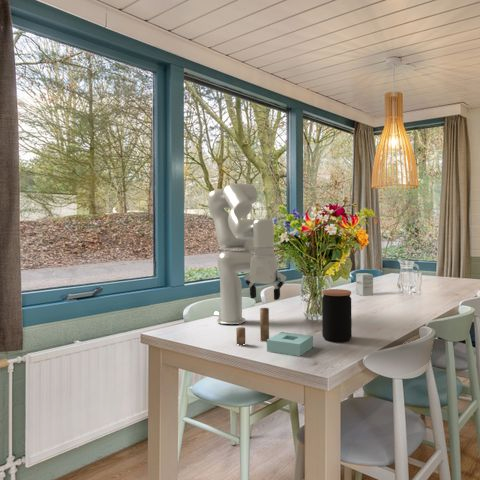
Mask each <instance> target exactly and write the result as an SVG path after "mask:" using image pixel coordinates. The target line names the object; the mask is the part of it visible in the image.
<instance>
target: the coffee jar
mask: <svg viewBox="0 0 480 480" xmlns="http://www.w3.org/2000/svg"><path fill="white" fill-rule="evenodd" d="M321 293H322V295H323V296H321V297H322V298H321V307H322V308H321V311H322V312H321V318H322V319H321V320H322V323H321V325H322V327H321V328H322V329H321V333H322V335H321V336H322V338H323V339H324V341H327V342H330V343H340V344H341V343H346V342H349V341H351V339H352V337H353V336H352V335H353V334H352V325H353V323H352V322H353V321H352V297H351V295H352V291H351V290H349V289H341V288H335V289H334V288H328V289H323V290H322V291H321Z"/></svg>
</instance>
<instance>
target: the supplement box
mask: <svg viewBox="0 0 480 480" xmlns="http://www.w3.org/2000/svg"><path fill="white" fill-rule="evenodd" d="M355 286H356V287H355V294H356V295H359V296H362V297H367V296H369V295H370V296H373V295H374V274H372V273H367V272H364V273H362V272H360V273H359V272H358V273H356V274H355Z"/></svg>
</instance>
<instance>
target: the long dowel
mask: <svg viewBox="0 0 480 480" xmlns="http://www.w3.org/2000/svg"><path fill="white" fill-rule="evenodd" d="M269 310H270V309H269V307H260V308H259V313H260V314H259V316H260V317H259V321H260V325H259V330H260V334H259V335H260V341H261V340H262V341H261V342H263V341H267V339H269V338H270V313H269V312H270V311H269Z"/></svg>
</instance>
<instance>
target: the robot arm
mask: <svg viewBox="0 0 480 480" xmlns="http://www.w3.org/2000/svg"><path fill="white" fill-rule="evenodd" d="M207 197H208V198H207V205H208V206H207V207H208V211H209V213H210V215H211V217H212V220H213V223H214V230H215V233H216V234H215V235H216V236H215V237H216V241H217V245H218V247H219V248H220V249H222V250H226V251H222V252H221V253H220V254H218V256H217V261H216V262H217V268H218V273H219V288H220V289H219V292H220V295H219V296H220V297H219V298H220V300H219V301H220V302H219V303H220V305H219V306H220V311H218V310H217V311H214V313H213V316H214V317H218V319H217V322H218V324H219V323H222V324H238V323H243V322H245V321H247V319H246V318H245V317H243V302H242V301H243V293H242V291H243V289H242V287H243V285H242V280H241V279H240V277H239V276H238V274H237V273H246V272H248V273H246V274H244V275H243V279H244V280H245V284H246V285H247V286H248V288H249V296H250V299H255V298H257V286H256V285H257V284H265V285H266V284H268V285H271V284H272V286H273V287H274V289H273V299H274V301H277V300H279V299H280V297H281V288H282V287H283V285H284V284H285V282H286V280H287V276H286V275H285V274H282V273H281V272H279V266H278V261H277V257H276V255H275V238H274V236H275V234H274V221H273V220H272V219H271V218H259V219H258V218H257V219H254V218H252V219H251V218H250V219H247V218H245V217H247V216H249V214H250V213H251V211H252V209H253V204H254V203H255V202H256V201H257V199H258V191H257V188H256V187H255V185H254V184H251V183H230V184H227V185H226V186H225V187H224V188H217V189H213V190H211V191H210V192H209V193H208V196H207ZM226 209H230V212H228V211H227V210H226ZM279 278H280V281H279ZM217 322H216V323H217ZM245 323H246V322H245ZM222 324H221V325H222ZM243 324H244V323H243Z"/></svg>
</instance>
